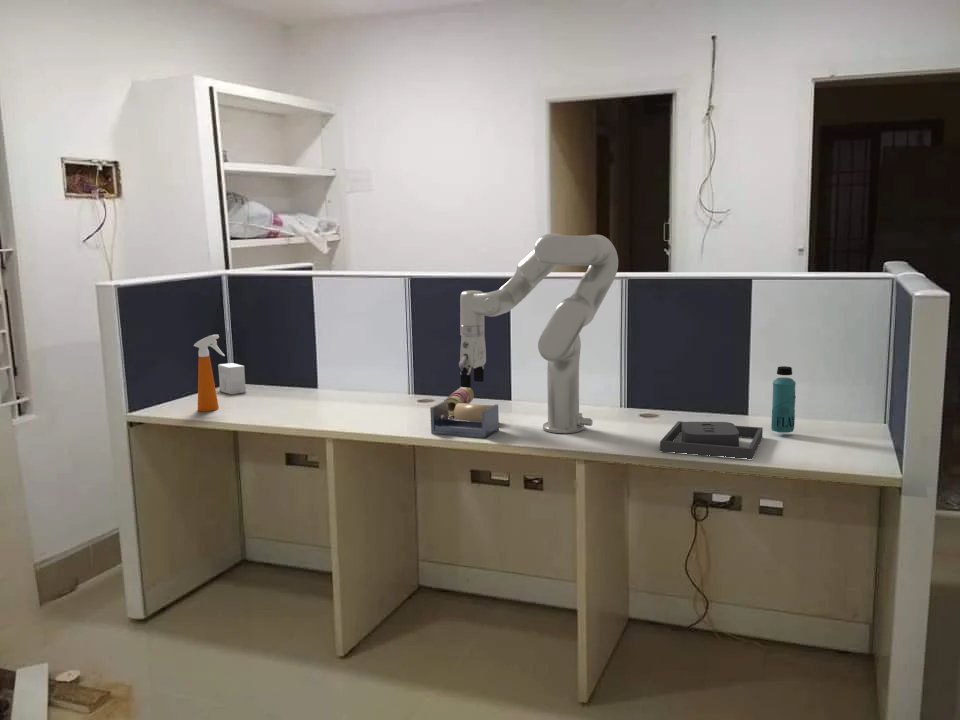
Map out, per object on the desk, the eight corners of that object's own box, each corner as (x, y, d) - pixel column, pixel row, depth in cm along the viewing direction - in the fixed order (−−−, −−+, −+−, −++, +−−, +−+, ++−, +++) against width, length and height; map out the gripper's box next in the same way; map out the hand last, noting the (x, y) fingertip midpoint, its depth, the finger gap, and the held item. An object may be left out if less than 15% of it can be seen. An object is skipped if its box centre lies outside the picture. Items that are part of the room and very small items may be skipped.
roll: (496, 422, 274) (496, 403, 273) (489, 426, 269) (488, 407, 268) (462, 419, 279) (461, 401, 278) (454, 423, 274) (453, 405, 272)
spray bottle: (225, 410, 299) (220, 335, 295) (194, 411, 299) (188, 336, 295) (231, 406, 306) (226, 332, 302) (201, 407, 306) (195, 333, 302)
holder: (498, 430, 263) (498, 404, 262) (485, 438, 254) (485, 411, 253) (445, 425, 270) (445, 400, 269) (431, 433, 261) (430, 407, 260)
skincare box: (246, 392, 331) (244, 365, 329) (230, 394, 327) (228, 367, 325) (235, 388, 339) (233, 362, 337) (219, 391, 335) (217, 364, 333)
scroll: (467, 414, 279) (482, 400, 298) (456, 393, 279) (472, 381, 298) (446, 423, 281) (462, 409, 300) (436, 402, 281) (453, 390, 300)
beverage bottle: (773, 437, 246) (775, 368, 243) (768, 432, 253) (770, 364, 250) (796, 438, 246) (799, 368, 242) (791, 432, 252) (794, 364, 249)
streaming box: (680, 439, 249) (680, 421, 248) (731, 439, 247) (732, 421, 246) (685, 452, 235) (685, 434, 234) (740, 453, 233) (740, 434, 232)
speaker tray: (762, 437, 247) (762, 427, 246) (751, 460, 225) (752, 449, 225) (677, 431, 257) (678, 421, 256) (660, 452, 235) (660, 441, 235)
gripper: (471, 335, 260) (471, 390, 263) (494, 327, 275) (494, 380, 278) (449, 333, 263) (449, 388, 266) (473, 326, 278) (473, 378, 281)
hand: (472, 384), depth 272 cm, fingers open, 9 cm apart
